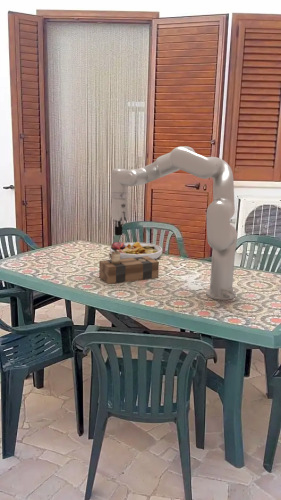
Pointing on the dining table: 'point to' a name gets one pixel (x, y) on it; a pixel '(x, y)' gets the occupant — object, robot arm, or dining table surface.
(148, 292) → the dining table surface
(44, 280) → the dining table surface
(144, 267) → the banded wooden block
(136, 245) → the bowl
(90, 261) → the dining table surface
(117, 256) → the beech peg
